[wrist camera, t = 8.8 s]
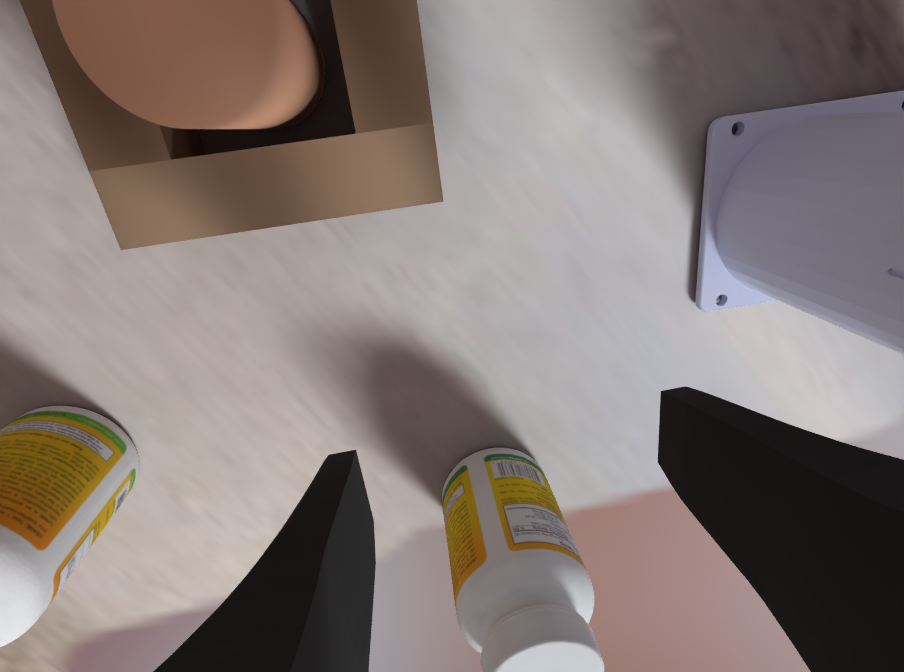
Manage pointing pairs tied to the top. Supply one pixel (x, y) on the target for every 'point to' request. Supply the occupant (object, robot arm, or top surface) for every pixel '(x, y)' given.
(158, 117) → the peg
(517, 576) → the supplement bottle
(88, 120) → the socket
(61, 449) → the supplement bottle
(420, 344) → the top surface
